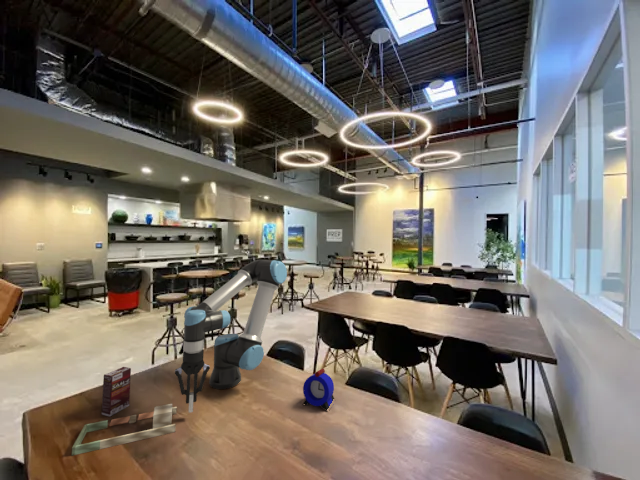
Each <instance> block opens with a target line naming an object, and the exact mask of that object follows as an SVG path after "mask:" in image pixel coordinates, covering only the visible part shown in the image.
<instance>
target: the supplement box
mask: <svg viewBox="0 0 640 480" xmlns="http://www.w3.org/2000/svg"><path fill="white" fill-rule="evenodd" d="M131 371H132V368H131V367H126V366H122V367H120V368H117V369H114V370H112V371H110V372H108V373H105V374H103V384H102V399H101V401H102V402H101V415H102V416H106V417H111V416H113V415H115V414H117V413H120V411H122V410H124V409H126V408H127V407H129V406H130V393H131V375H132V373H131Z"/></svg>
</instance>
